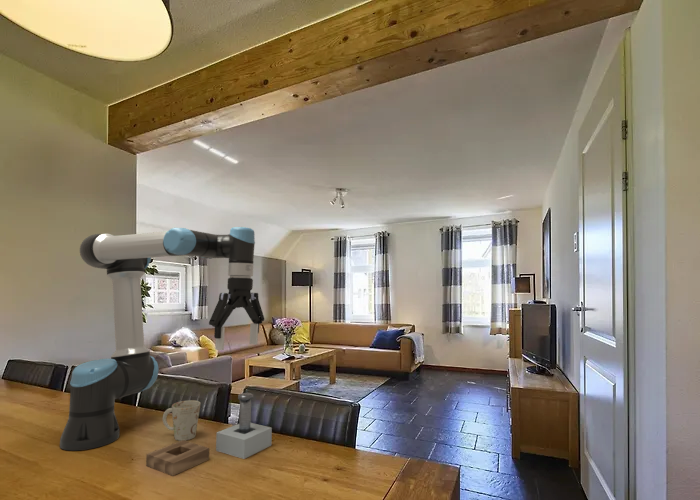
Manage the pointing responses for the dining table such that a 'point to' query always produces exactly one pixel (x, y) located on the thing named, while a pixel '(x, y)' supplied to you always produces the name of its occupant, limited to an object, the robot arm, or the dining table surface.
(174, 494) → the dining table surface
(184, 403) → the mug
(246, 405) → the pin
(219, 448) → the socket
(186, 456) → the block
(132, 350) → the robot arm
